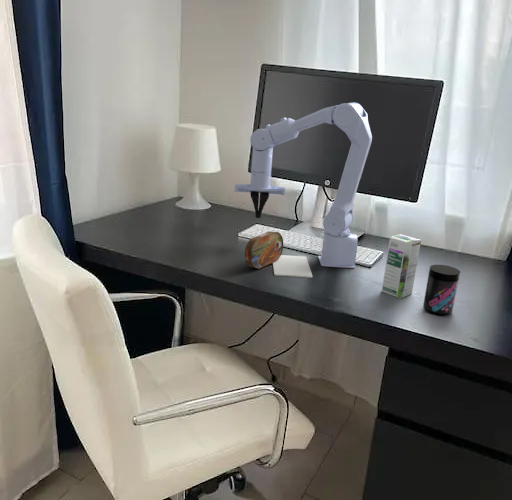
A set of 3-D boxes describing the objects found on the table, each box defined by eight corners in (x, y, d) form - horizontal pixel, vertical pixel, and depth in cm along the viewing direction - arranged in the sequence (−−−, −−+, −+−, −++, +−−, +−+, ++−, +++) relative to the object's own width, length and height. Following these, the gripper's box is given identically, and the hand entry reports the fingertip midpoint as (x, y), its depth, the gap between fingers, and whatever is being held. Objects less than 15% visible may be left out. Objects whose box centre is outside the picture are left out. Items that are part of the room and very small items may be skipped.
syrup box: (380, 291, 139) (388, 236, 135) (393, 286, 143) (401, 232, 139) (400, 299, 136) (409, 242, 131) (412, 293, 140) (422, 238, 135)
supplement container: (419, 312, 129) (427, 270, 125) (424, 302, 135) (432, 262, 131) (449, 319, 126) (458, 277, 123) (453, 309, 132) (462, 268, 129)
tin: (251, 272, 146) (252, 241, 143) (242, 269, 148) (242, 239, 145) (284, 257, 157) (284, 229, 155) (274, 255, 159) (275, 227, 156)
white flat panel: (306, 257, 161) (306, 256, 160) (312, 277, 145) (312, 276, 145) (271, 255, 160) (271, 254, 160) (274, 275, 145) (274, 274, 145)
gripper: (285, 170, 164) (281, 215, 168) (236, 167, 163) (233, 212, 167) (287, 174, 157) (283, 221, 161) (235, 171, 156) (233, 218, 161)
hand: (257, 217), depth 164 cm, fingers closed
